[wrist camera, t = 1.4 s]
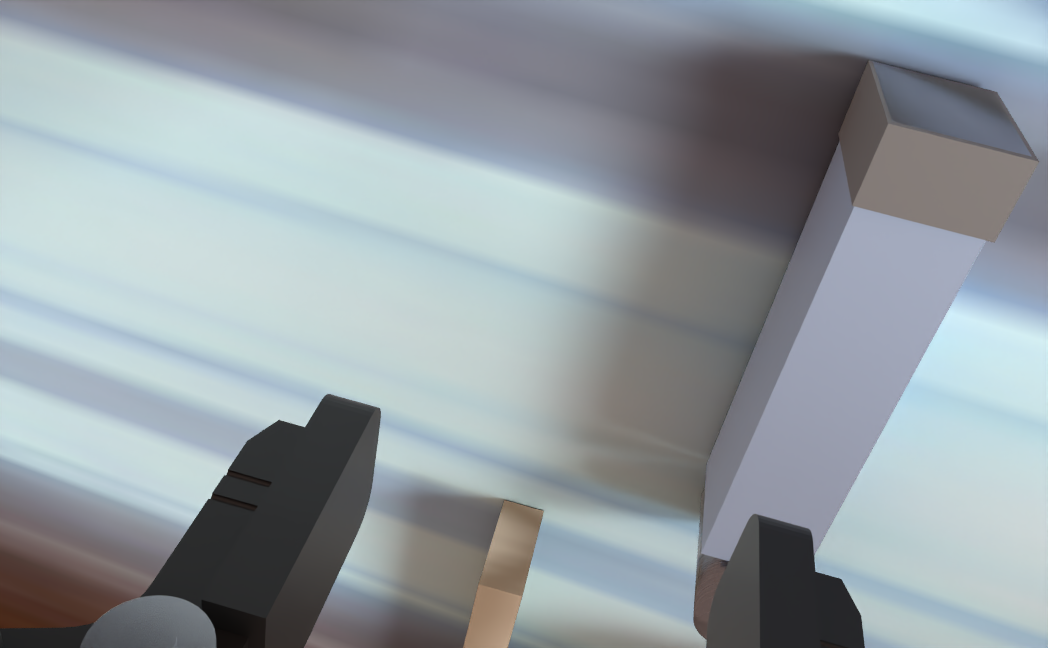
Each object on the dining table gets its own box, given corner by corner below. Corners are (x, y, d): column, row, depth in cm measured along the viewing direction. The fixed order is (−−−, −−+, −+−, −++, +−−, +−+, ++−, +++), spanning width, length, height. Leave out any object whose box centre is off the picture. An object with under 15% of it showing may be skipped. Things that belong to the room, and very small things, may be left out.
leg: (798, 489, 31) (803, 587, 28) (703, 463, 32) (697, 557, 28) (997, 92, 23) (1039, 161, 20) (868, 60, 23) (887, 123, 20)
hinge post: (782, 486, 32) (787, 608, 28) (759, 534, 33) (760, 658, 29) (713, 467, 32) (706, 585, 28) (692, 515, 33) (683, 635, 29)
